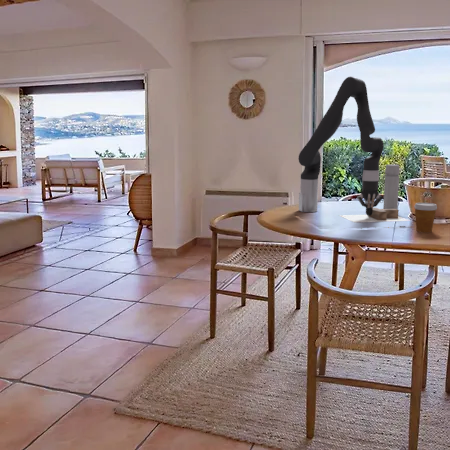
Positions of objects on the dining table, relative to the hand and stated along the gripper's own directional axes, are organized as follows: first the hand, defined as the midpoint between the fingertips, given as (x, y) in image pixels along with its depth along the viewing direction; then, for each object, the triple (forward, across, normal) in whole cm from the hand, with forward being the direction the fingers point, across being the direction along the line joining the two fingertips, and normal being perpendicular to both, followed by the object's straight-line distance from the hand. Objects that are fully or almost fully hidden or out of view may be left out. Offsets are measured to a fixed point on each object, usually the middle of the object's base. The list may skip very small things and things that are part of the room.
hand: (368, 215), depth 265 cm
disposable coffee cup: (+3, -13, +29) cm, 32 cm away
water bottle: (+3, -21, -21) cm, 30 cm away
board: (+3, -3, 0) cm, 4 cm away
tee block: (+1, -8, 0) cm, 8 cm away
